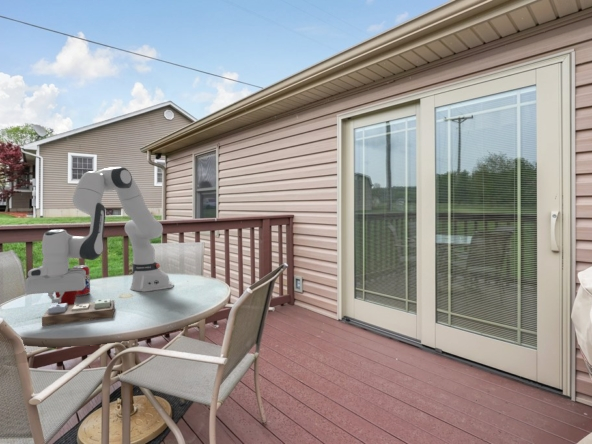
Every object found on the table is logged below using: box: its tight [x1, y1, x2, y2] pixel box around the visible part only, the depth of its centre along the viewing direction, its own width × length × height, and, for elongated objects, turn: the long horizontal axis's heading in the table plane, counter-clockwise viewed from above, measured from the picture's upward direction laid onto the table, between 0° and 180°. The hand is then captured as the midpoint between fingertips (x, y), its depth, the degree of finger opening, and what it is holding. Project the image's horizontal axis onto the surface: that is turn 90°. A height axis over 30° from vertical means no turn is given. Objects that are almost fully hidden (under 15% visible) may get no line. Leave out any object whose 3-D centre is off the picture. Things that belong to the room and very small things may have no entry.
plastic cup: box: [54, 291, 77, 305], centre depth 152 cm, size 11×11×12 cm
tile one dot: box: [47, 303, 67, 314], centre depth 136 cm, size 6×6×3 cm
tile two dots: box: [94, 298, 112, 308], centre depth 143 cm, size 6×6×3 cm
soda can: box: [72, 264, 91, 297], centre depth 172 cm, size 8×8×15 cm
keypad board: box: [41, 299, 116, 327], centre depth 140 cm, size 24×14×4 cm, turn 116°
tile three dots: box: [72, 303, 90, 311], centre depth 140 cm, size 6×6×3 cm
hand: (56, 302), depth 136 cm, fingers closed
